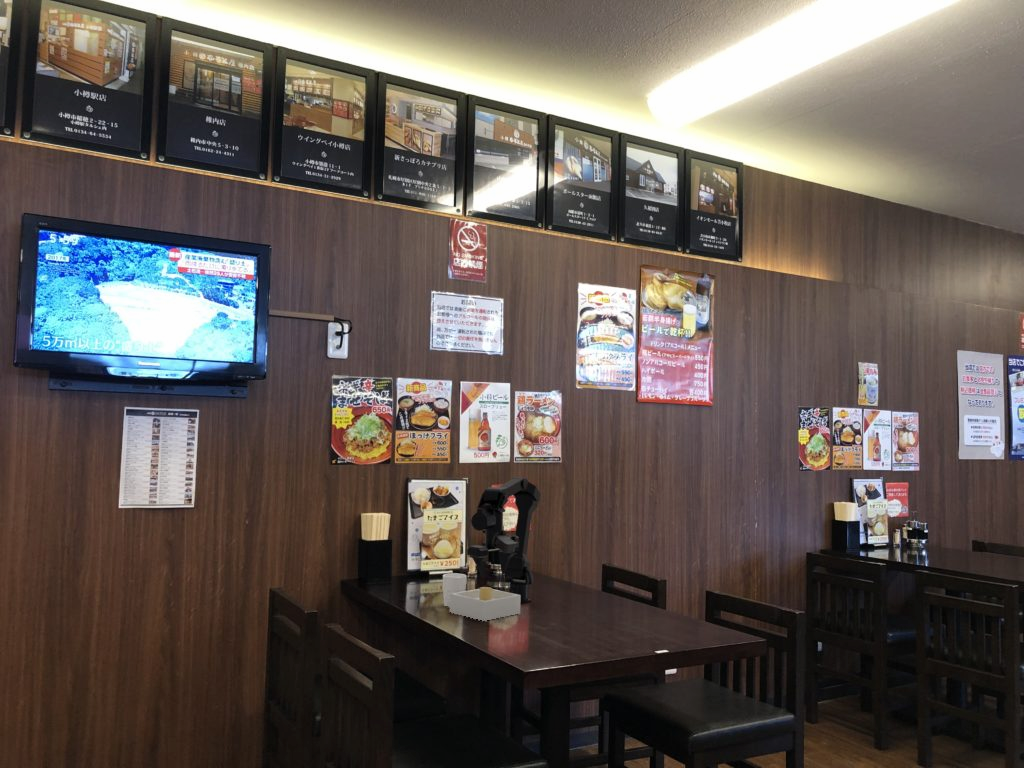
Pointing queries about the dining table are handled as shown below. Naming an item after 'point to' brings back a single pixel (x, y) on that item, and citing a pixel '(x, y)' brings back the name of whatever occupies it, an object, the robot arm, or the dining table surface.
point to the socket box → (484, 604)
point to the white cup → (452, 585)
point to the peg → (485, 593)
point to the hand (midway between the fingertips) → (493, 575)
